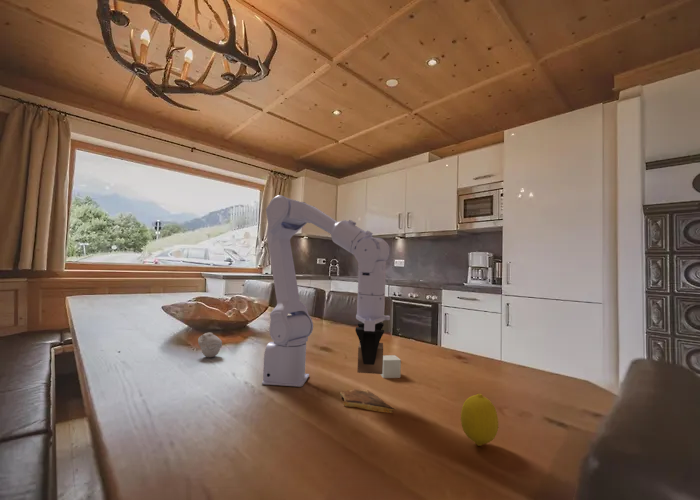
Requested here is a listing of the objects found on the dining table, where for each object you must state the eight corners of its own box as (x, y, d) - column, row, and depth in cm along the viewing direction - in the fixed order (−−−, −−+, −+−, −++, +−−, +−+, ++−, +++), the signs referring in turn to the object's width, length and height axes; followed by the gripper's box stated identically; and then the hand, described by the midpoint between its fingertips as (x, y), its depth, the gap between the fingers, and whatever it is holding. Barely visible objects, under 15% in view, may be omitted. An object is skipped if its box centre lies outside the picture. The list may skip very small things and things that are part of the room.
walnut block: (357, 372, 65) (358, 347, 65) (358, 364, 70) (359, 341, 70) (382, 374, 65) (383, 348, 65) (382, 366, 70) (382, 342, 70)
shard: (394, 416, 62) (394, 407, 62) (358, 423, 58) (359, 413, 58) (367, 395, 71) (367, 387, 72) (335, 400, 68) (335, 391, 68)
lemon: (454, 436, 54) (455, 387, 54) (486, 436, 54) (487, 387, 55) (469, 455, 48) (470, 400, 49) (505, 455, 49) (505, 401, 49)
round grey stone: (204, 353, 98) (205, 330, 99) (226, 355, 97) (227, 331, 98) (192, 358, 92) (193, 334, 93) (215, 360, 91) (216, 335, 92)
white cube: (383, 378, 82) (383, 360, 82) (378, 372, 86) (379, 355, 86) (400, 378, 83) (400, 360, 83) (394, 372, 87) (395, 355, 87)
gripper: (391, 298, 61) (389, 372, 60) (389, 292, 75) (387, 352, 74) (354, 296, 61) (351, 369, 60) (358, 291, 76) (356, 350, 75)
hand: (369, 360), depth 67 cm, fingers closed on walnut block, 5 cm apart
